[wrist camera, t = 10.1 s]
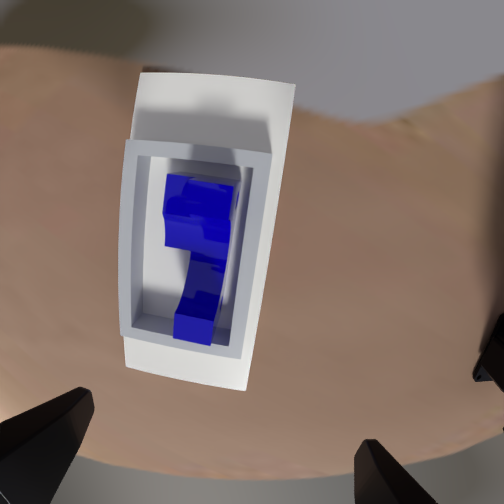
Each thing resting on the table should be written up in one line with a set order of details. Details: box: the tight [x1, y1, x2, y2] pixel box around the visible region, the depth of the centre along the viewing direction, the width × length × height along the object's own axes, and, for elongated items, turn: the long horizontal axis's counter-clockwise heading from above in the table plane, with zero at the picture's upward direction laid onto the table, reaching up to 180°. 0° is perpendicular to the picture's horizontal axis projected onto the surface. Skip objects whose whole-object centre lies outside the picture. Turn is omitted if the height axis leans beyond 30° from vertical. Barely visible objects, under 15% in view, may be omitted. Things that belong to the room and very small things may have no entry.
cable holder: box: [162, 171, 242, 346], centre depth 17 cm, size 8×4×4 cm, turn 170°
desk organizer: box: [118, 73, 296, 391], centre depth 18 cm, size 9×20×3 cm, turn 172°
